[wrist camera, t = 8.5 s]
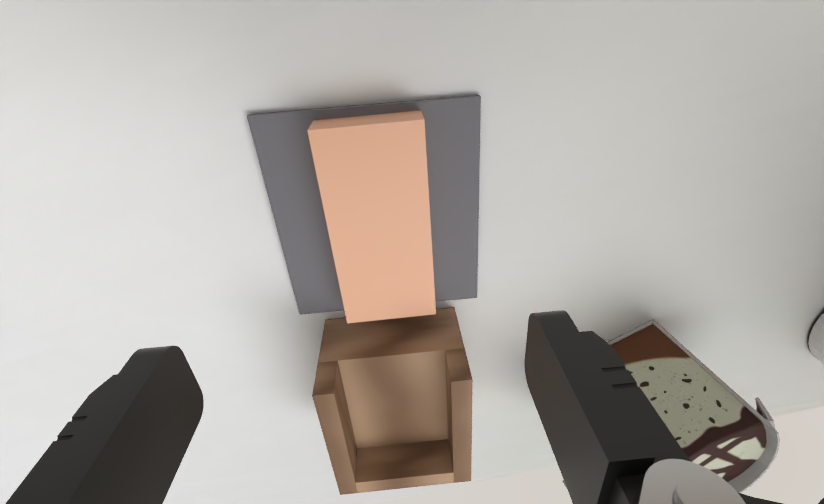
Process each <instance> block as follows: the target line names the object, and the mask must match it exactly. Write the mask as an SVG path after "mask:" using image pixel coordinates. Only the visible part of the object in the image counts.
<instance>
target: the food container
mask: <svg viewBox="0 0 824 504" xmlns="http://www.w3.org/2000/svg"><path fill="white" fill-rule="evenodd" d="M607 343H608V344H610V345H611V346H612V347H613V348H614V350H615V351H616V353H617V354H618V356H619V357H620V359H621V360H622V361H623V363H624V364H625V367H626V370H629V372H630V373H631V375H632V376H633V378H634V379H635V381H636V382H637V386H638V387H640V388H641V389H642V391H643V392H644V394H645V395H646V397H647V398H648V400H649V401H650V403H651V404H652V406H653V407H654V408H655V410H656V411H657V413H658V414H659V416H660V417H661V419H662V420H663V422H664V423H665V425H666V426H667V428H668V429H669V430H670V432H671V433H672V435H673V436H674V438H675V439H676V441H677V442H678V444H679V445H680V447H681V448H682V450H683V451H684V452H685V454H686V455H687V456H688V458H689V459H690V460H691V461H692V462H693V463H696V464H699V465H701V466H703V467H705V468H707V469H709V470H711V471H712V472H714V473H716V474H717V475H719V476H720V477H721V478H723V479H724V480H725V481H726V482H728V483H729V484H730V485H731V486H732V487H733V488H734V489H735V490H736V491H737V492H738V493H742V492H743V491H745V490H746V489H747V488H749V487H750V486H751V485H753V484H754V483H755V482H756V481H757V480H758V479H759V478H760V477H761V476H762V475H763V474H764V473H765V472H766V471H767V470H768V468H769V467H770V466H771V464H772V462H773V461H774V459H775V457H776V455H777V452H778V450H779V442H780V440H779V433H778V432H777V431H776V430H775V427H774V421H773V419H772V417H771V416H770V414H769V413H768V411H767V410H766V408H765V407H764V405H763V404H762V402H761V401H760V399H759V398H755V400H756V405H757V411H756V410H755V409H753V408H752V407H751V406H750V405H749V404H748V403H747V402H746V401H744V400H743V399H742V398H741V397H740V396H739V395H738V394H737V393H735V392H734V391H733V390H732V389H731V388H730V387H729V386H728V385H726V384H725V383H724V382H723V381H722V380H721V379H720V378H719V377H717V376H716V375H715V374H714V373H713V372H712V371H711V370H710V369H709V368H707V367H706V366H705V365H704V364H703V363H702V362H701V361H700V360H698V359H697V358H696V357H695V356H694V355H693V354H692V353H691V352H689V351H688V350H687V349H686V348H685V347H684V346H683V345H682V344H680V343H679V342H678V341H677V340H676V339H675V338H674V337H673V336H671V335H670V334H669V333H668V332H667V331H666V330H665V329H664V328H663V327H661V326H660V325H659V324H658V323H657V322H656V321H655V320H654V319H653V320H651V321H649V322H647V323H645V324H643V325H641V326H639V327H637V328H635V329H633V330H631V331H629V332H627V333H625V334H623V335H621V336H619V337H617V338H615V339H613V340H611V341H609V342H607ZM563 483H564V484H565V481H564V480H563ZM565 486H566V484H565ZM566 487H567V486H566Z"/></svg>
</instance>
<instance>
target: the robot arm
mask: <svg viewBox="0 0 824 504" xmlns="http://www.w3.org/2000/svg"><path fill="white" fill-rule="evenodd" d="M808 344H809V349H810V351H811V353H812V354H813V356H814V357H816V358H817V359H818V360H819V361H821V362H822V363H823V364H824V313H823V314H822V315H821V316H820V317H819V319H818V320H817V322H816V323H815V325H814V326H813V329H812V331H811V333H810V336H809V343H808ZM525 374H526V379H527V384H528V387H529V390H530V393H531V395H532V398H533V400H534V403H535V406H536V408H537V411H538V413H539V416H540V419H541V421H542V424H543V426H544V429H545V432H546V434H547V437H548V439H549V442H550V445H551V447H552V450H553V453H554V455H555V458H556V460H557V463H558V466H559V468H560V470H561V473H562V476H563V479H564V481H565V484H566V486H567V489H568V491H569V494H570V497H571V499H572V502H573V504H782V503H777V502H773V501H768V500H764V499H759V498H754V497H750V496H747V495H744V494H741V493H738V492H737V491H736V490H735V489H734V488H733V487H732V486H731V485H730V484H729V483H728V482H726V481H725V480H724V479H723V478H721V477H720V476H719V475H717V474H716V473H714V472H712V471H711V470H709V469H707V468H705V467H703V466H701V465H699V464H696V463H693V462H692V461H691V460H690V459H689V458H688V456H687V455H686V454H685V452H684V451H683V450H682V448H681V447H680V445H679V444H678V442H677V441H676V439H675V438H674V436H673V435H672V433H671V432H670V430H669V429H668V428H667V426H666V425H665V423H664V422H663V420H662V419H661V417H660V416H659V414H658V413H657V411H656V410H655V408H654V407H653V406H652V404H651V403H650V401H649V400H648V398H647V397H646V395H645V394H644V392H643V391H642V389H641V388H640V387H638V386H637V382H636V381H635V379H634V378H633V376H632V375H631V373H630V372H629V370H626V367H625V364H624V363H623V361H622V360H621V359H620V357H619V356H618V354H617V353H616V351H615V350H614V348H613V347H612V346H611V345H610V344H608V343H607V342H606V341H604V340H603V339H602V338H600V337H599V336H598V335H597V334H595V333H594V332H593V331H587V332H579V331H578V329H577V327H576V326H575V324H574V323H573V321H572V319H571V318H570V316H569V314H568V313H567V312H566V311H563V310H562V311H552V312H541V313H532V314H530V316H529V321H528V332H527V343H526V353H525ZM202 412H203V394H202V391H201V389H200V387H199V385H198V383H197V380H196V378H195V376H194V374H193V372H192V370H191V368H190V366H189V364H188V362H187V360H186V358H185V356H184V353H183V352H182V350H181V349H180V348H179V347H177V346H166V347H155V348H144V349H139V350H137V351H136V352H135V353H134V354H133V355H132V356H131V357H130V359H129V360H128V362H127V363H126V364H125V366H124V367H123V368H122V370H121V371H120V372H119V374H118V375H113V376H112V377H110V378H109V379H108V380H107V381H106V382H104V383H103V384H102V385H101V386H100V387H98V388H97V389H96V390H95V391H93V392H92V393H91V394H90V395H89V396H88V397H87V399H86V400H85V401H84V402H83V404H82V405H81V406H80V408H79V409H78V410H77V412H76V413H75V414H74V415H73V417H72V421H71V422H68V423H67V425H66V426H65V427H64V428H63V430H62V431H61V432H60V434H59V435H58V436H57V437H58V440H57V441H53V443H52V444H51V445H50V447H49V448H48V449H47V451H46V452H45V453H44V454H43V456H42V457H41V458H40V460H39V461H38V462H37V464H36V465H35V466H34V467H33V469H32V470H31V471H30V473H29V474H28V475H27V477H26V478H25V479H24V480H23V482H22V483H21V484H20V486H19V487H18V488H17V490H16V491H15V492H14V493H13V495H12V496H11V497H10V499H9V500H8V501H7V502H6V504H162V503H163V501H164V499H165V497H166V494H167V492H168V490H169V488H170V486H171V483H172V481H173V479H174V477H175V474H176V472H177V470H178V468H179V466H180V463H181V461H182V459H183V457H184V455H185V452H186V450H187V448H188V446H189V443H190V441H191V439H192V437H193V435H194V432H195V430H196V428H197V426H198V424H199V421H200V419H201V416H202ZM818 504H824V498H823V499H822V500H821V501H820V502H819V503H818Z"/></svg>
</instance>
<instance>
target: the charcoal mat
mask: <svg viewBox="0 0 824 504" xmlns="http://www.w3.org/2000/svg"><path fill="white" fill-rule="evenodd" d="M480 103H481V96H479V95H475V96H463V97H451V98H439V99H427V100H415V101H403V102H391V103H379V104H367V105H355V106H343V107H331V108H319V109H307V110H295V111H283V112H271V113H259V114H249V115H248V116H247V118H248V121H249V125H250V129H251V133H252V136H253V140H254V144H255V148H256V151H257V155H258V159H259V163H260V166H261V170H262V174H263V178H264V181H265V185H266V189H267V193H268V197H269V200H270V204H271V208H272V212H273V215H274V219H275V223H276V227H277V230H278V234H279V238H280V242H281V245H282V249H283V253H284V257H285V260H286V264H287V268H288V272H289V275H290V279H291V283H292V287H293V290H294V294H295V298H296V302H297V305H298V309H299V313H300V314H310V313H320V312H331V311H341V310H344V305H343V301H342V296H341V291H340V286H339V281H338V276H337V272H336V267H335V262H334V257H333V252H332V247H331V243H330V238H329V233H328V228H327V223H326V218H325V213H324V209H323V204H322V199H321V194H320V189H319V184H318V180H317V175H316V170H315V165H314V160H313V155H312V151H311V146H310V141H309V136H308V131H307V130H308V129H309V127H310V125H311V123H312V122H313V121H314V120H324V119H335V118H346V117H356V116H367V115H377V114H388V113H398V112H409V111H419V110H421V112H422V115H423V117H424V121H425V138H426V155H427V171H428V188H429V204H430V221H431V238H432V254H433V271H434V287H435V302H436V301H446V300H457V299H467V298H477V268H478V213H479V158H480Z"/></svg>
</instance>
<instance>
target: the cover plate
mask: <svg viewBox="0 0 824 504" xmlns="http://www.w3.org/2000/svg"><path fill="white" fill-rule="evenodd" d="M307 131H308V136H309V141H310V146H311V151H312V155H313V160H314V165H315V170H316V175H317V180H318V184H319V189H320V194H321V199H322V204H323V209H324V213H325V218H326V223H327V228H328V233H329V238H330V243H331V247H332V252H333V257H334V262H335V267H336V272H337V276H338V281H339V286H340V291H341V296H342V301H343V305H344V310H345V315H346V320H347V323H356V322H366V321H375V320H385V319H395V318H404V317H414V316H423V315H433V314H436V304H435V287H434V271H433V254H432V238H431V221H430V204H429V188H428V171H427V155H426V138H425V121H424V117H423V115H422V112H421V110H419V111H409V112H398V113H388V114H377V115H367V116H356V117H346V118H335V119H324V120H314V121H313V122H312V123H311V125H310V127H309V129H308V130H307Z"/></svg>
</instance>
